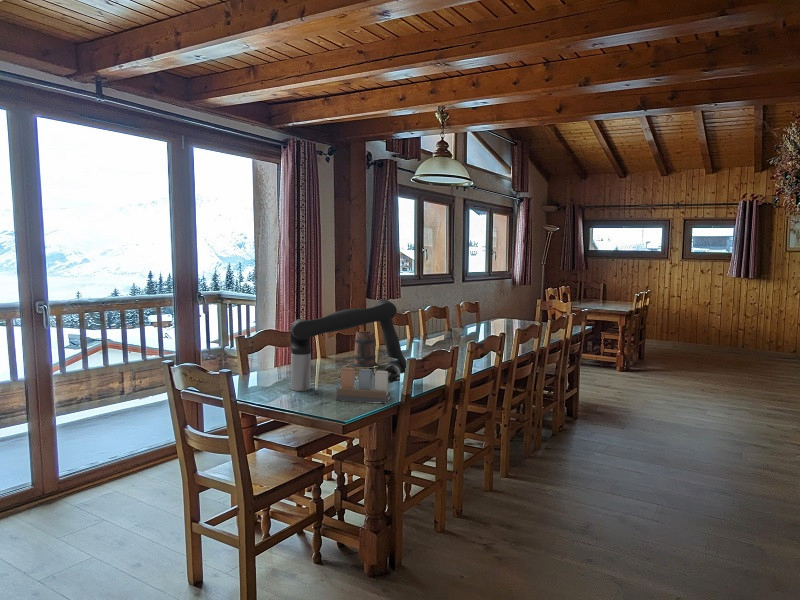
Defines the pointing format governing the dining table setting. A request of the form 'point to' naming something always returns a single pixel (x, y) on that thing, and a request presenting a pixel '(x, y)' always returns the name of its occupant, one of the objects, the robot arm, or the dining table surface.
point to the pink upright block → (348, 378)
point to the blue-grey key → (365, 379)
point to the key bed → (347, 398)
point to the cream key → (381, 381)
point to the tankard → (364, 350)
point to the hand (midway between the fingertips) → (382, 381)
